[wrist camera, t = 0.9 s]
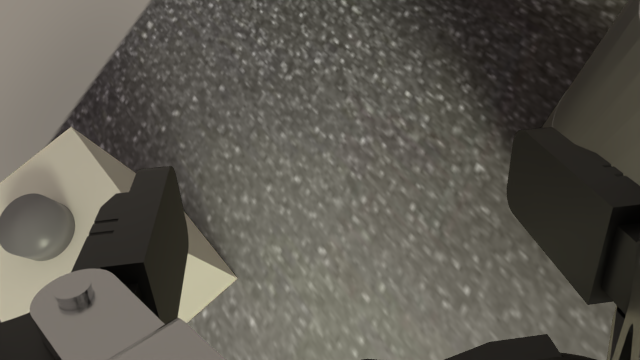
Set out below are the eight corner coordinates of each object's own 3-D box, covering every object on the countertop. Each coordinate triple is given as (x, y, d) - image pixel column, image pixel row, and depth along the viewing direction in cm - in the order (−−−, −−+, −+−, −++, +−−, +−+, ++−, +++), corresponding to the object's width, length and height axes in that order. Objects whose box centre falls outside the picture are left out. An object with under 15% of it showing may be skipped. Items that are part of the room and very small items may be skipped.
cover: (177, 203, 34) (54, 114, 21) (237, 278, 32) (140, 229, 19) (97, 270, 33) (-80, 218, 20) (153, 351, 31) (-5, 349, 18)
